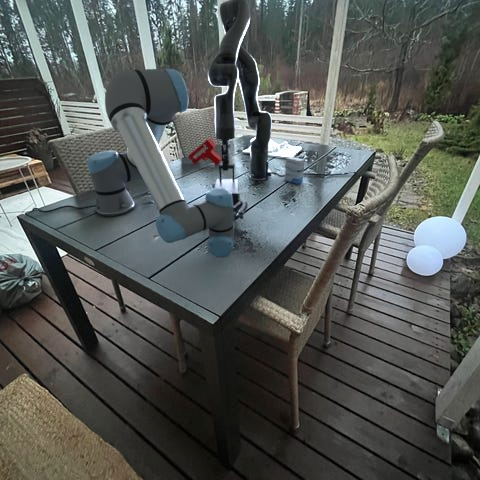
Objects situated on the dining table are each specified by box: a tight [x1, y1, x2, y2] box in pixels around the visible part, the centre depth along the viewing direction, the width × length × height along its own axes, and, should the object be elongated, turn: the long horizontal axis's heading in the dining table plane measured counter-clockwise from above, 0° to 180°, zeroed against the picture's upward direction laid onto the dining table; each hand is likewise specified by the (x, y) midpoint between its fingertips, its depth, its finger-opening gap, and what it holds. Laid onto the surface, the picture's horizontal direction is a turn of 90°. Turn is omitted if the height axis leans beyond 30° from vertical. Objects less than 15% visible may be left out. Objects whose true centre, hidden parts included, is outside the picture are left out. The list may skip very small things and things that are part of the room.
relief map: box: [242, 138, 304, 160], centre depth 192 cm, size 27×35×5 cm
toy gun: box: [188, 138, 222, 167], centre depth 168 cm, size 18×4×15 cm
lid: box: [214, 164, 239, 196], centre depth 110 cm, size 16×9×8 cm, turn 0°
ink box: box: [284, 156, 306, 185], centre depth 140 cm, size 8×5×12 cm, turn 47°
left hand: (226, 196), depth 110 cm, fingers closed on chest, 9 cm apart
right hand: (226, 167), depth 113 cm, fingers open, 8 cm apart
